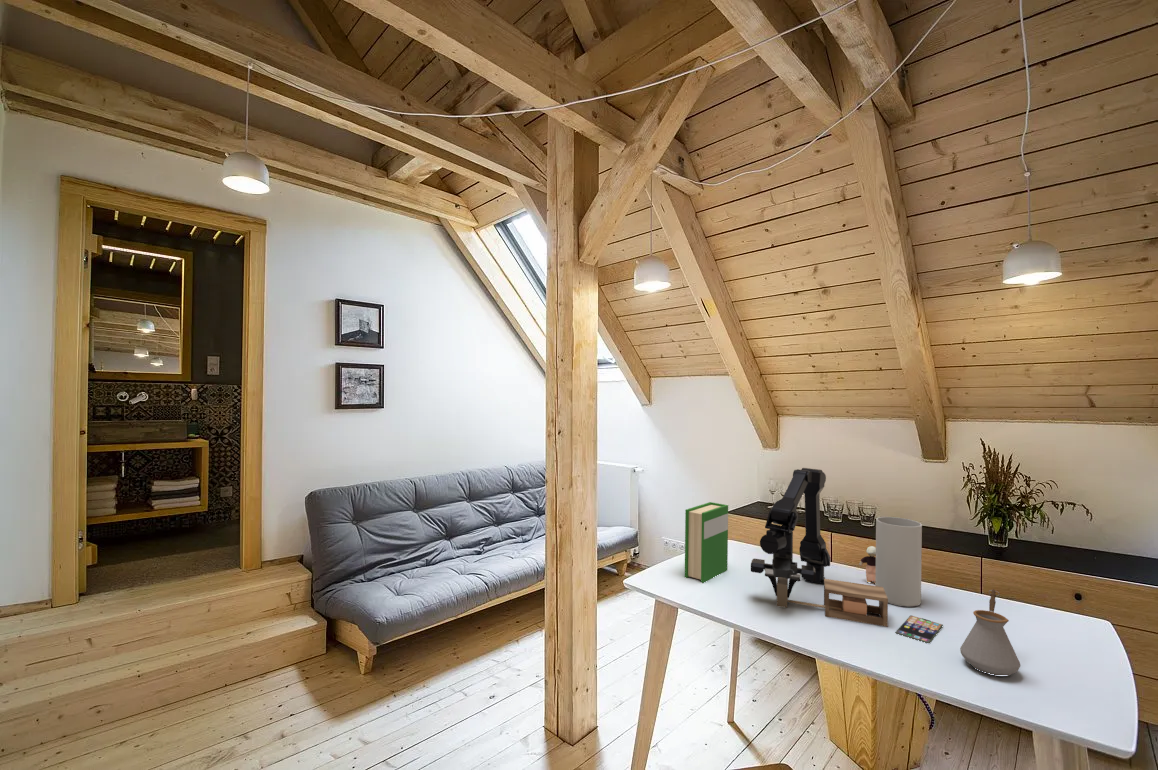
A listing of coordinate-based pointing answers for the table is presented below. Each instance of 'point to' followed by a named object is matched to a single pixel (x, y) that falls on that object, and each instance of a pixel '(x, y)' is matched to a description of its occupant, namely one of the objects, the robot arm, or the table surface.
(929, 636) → the smartphone
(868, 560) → the grandmother figurine
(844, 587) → the shelf lane
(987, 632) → the coffee pot
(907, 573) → the cylinder vase
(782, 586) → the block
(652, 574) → the table surface
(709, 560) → the hardback book
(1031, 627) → the table surface
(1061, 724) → the table surface
